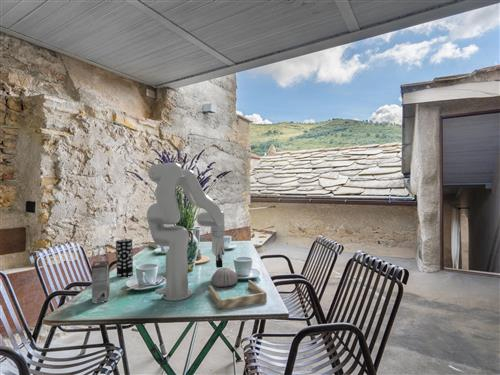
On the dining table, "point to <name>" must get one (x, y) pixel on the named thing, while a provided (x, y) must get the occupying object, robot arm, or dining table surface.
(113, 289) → the dining table surface
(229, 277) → the sea urchin shell
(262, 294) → the box
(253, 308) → the dining table surface
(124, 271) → the white-spotted black cylinder
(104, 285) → the coffee box
